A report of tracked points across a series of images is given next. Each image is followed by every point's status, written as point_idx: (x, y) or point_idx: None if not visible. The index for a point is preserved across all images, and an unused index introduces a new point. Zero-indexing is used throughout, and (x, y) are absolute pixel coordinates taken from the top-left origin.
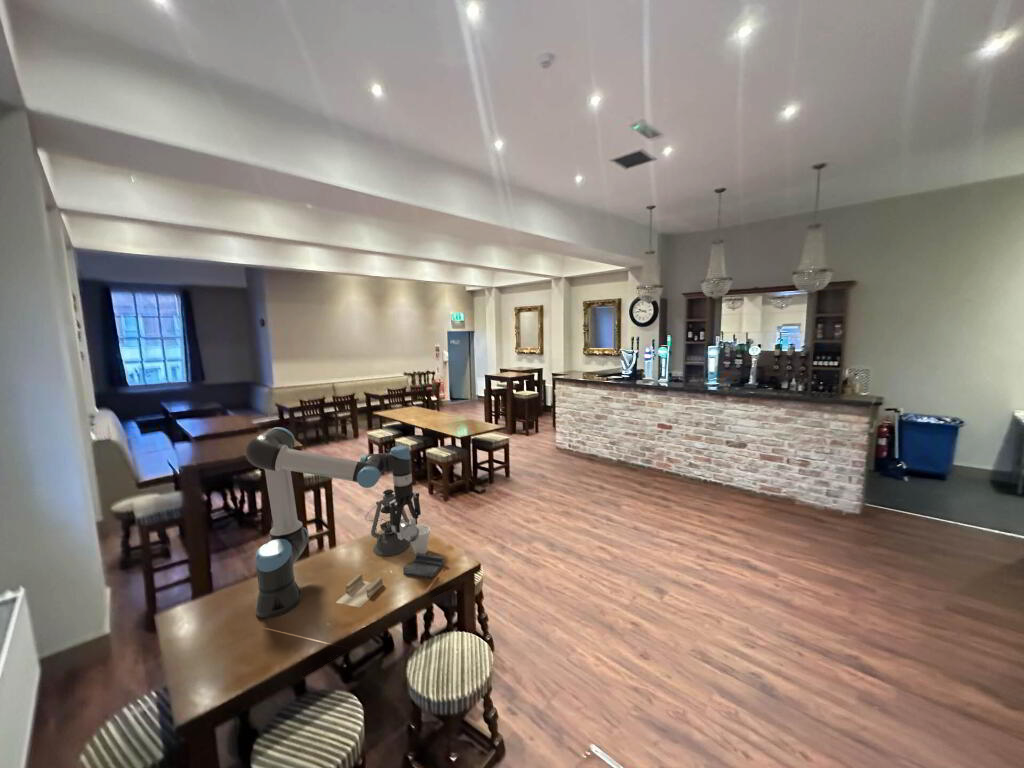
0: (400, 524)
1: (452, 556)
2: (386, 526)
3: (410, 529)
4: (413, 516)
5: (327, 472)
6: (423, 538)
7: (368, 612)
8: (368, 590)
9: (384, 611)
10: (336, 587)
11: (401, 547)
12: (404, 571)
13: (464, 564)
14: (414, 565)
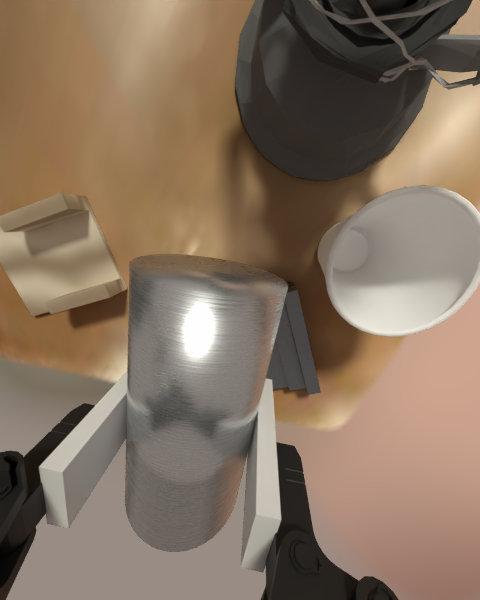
0: (61, 515)
1: (368, 369)
2: None
3: (142, 536)
4: (270, 578)
5: None
6: (355, 313)
7: (47, 342)
8: (49, 308)
9: (77, 371)
10: (12, 148)
11: (321, 160)
12: None
13: (342, 421)
14: None
